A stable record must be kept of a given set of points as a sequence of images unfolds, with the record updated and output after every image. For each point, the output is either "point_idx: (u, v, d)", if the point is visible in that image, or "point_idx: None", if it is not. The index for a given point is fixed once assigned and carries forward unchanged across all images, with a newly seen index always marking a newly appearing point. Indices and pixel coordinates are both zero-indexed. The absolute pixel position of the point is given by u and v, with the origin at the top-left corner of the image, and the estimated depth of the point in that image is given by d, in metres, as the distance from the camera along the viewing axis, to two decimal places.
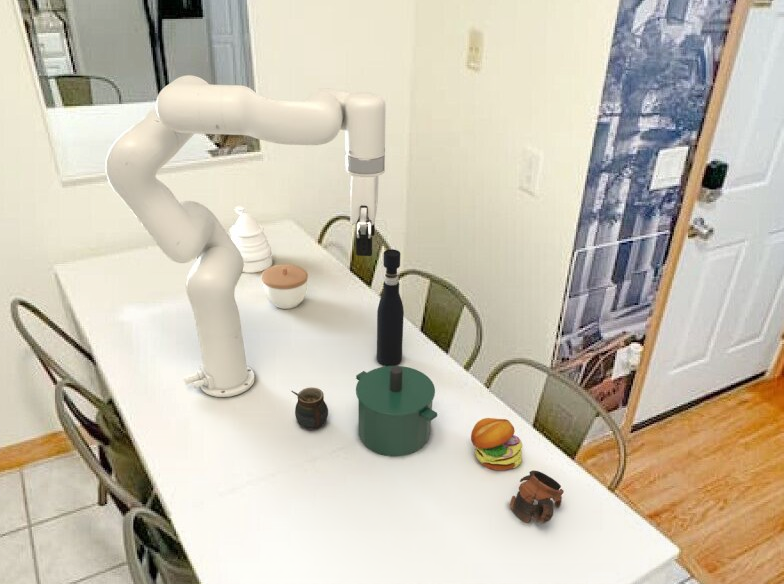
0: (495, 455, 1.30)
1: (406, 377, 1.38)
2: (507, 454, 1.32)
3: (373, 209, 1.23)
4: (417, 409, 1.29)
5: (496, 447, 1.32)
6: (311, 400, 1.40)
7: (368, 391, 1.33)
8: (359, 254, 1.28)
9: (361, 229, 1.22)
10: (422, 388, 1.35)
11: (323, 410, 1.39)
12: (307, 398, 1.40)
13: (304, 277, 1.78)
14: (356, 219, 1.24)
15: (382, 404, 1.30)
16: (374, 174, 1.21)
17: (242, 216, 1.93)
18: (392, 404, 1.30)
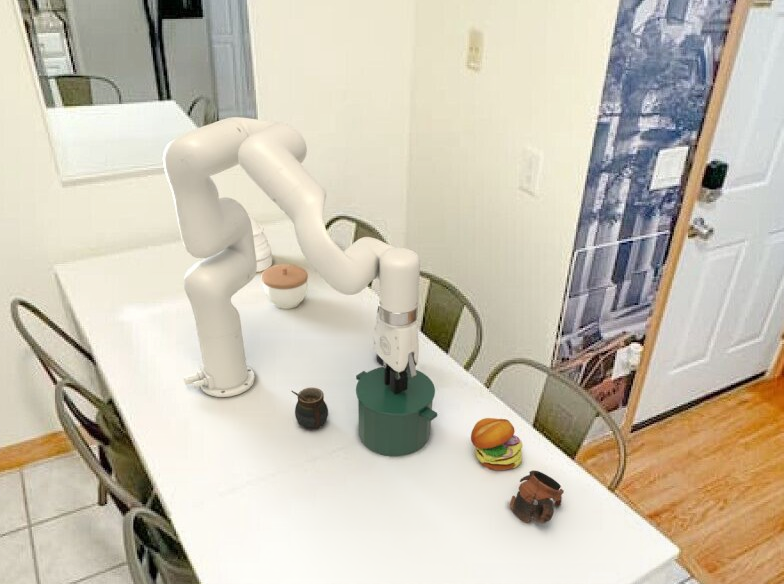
0: (495, 455, 1.30)
1: None
2: (507, 454, 1.32)
3: (418, 352, 1.26)
4: (417, 409, 1.29)
5: (496, 447, 1.32)
6: (311, 400, 1.40)
7: (368, 391, 1.33)
8: (397, 392, 1.32)
9: None
10: (422, 388, 1.35)
11: (323, 410, 1.39)
12: (307, 398, 1.40)
13: (304, 277, 1.78)
14: None
15: (382, 404, 1.30)
16: (415, 321, 1.23)
17: None
18: (392, 404, 1.30)
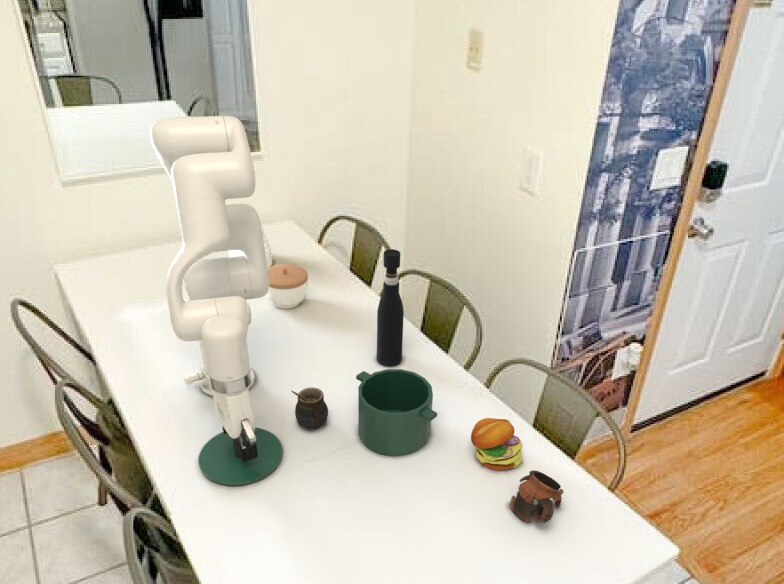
0: (495, 455, 1.30)
1: (256, 440, 1.35)
2: (507, 454, 1.32)
3: (253, 418, 1.23)
4: (257, 477, 1.26)
5: (496, 447, 1.32)
6: (311, 400, 1.40)
7: (211, 457, 1.30)
8: (245, 460, 1.27)
9: (251, 443, 1.21)
10: (269, 453, 1.32)
11: (323, 410, 1.39)
12: (307, 398, 1.40)
13: (304, 277, 1.78)
14: (238, 433, 1.22)
15: (221, 471, 1.27)
16: (247, 388, 1.20)
17: None
18: (232, 472, 1.27)
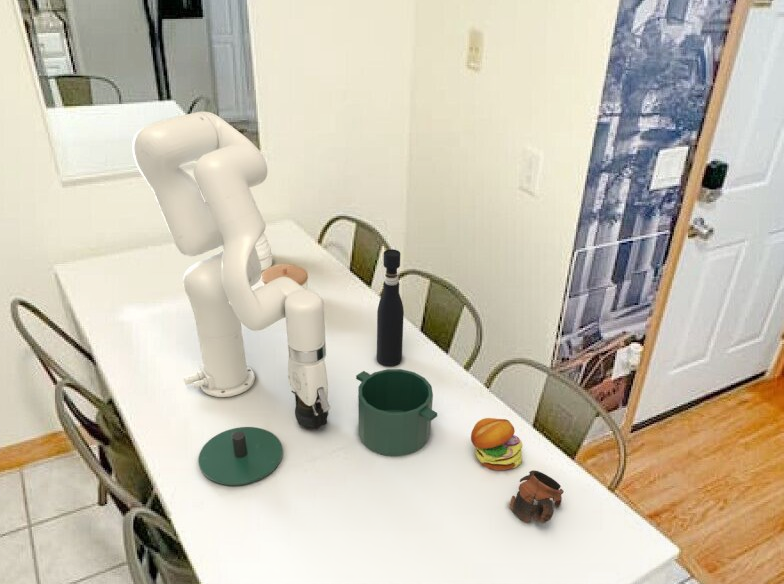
0: (495, 455, 1.30)
1: (256, 440, 1.35)
2: (507, 454, 1.32)
3: (327, 387, 1.33)
4: (257, 477, 1.26)
5: (496, 447, 1.32)
6: None
7: (211, 457, 1.30)
8: (316, 427, 1.37)
9: (325, 410, 1.32)
10: (269, 453, 1.32)
11: None
12: None
13: (304, 277, 1.78)
14: (313, 402, 1.33)
15: (221, 471, 1.27)
16: (323, 358, 1.30)
17: None
18: (232, 472, 1.27)
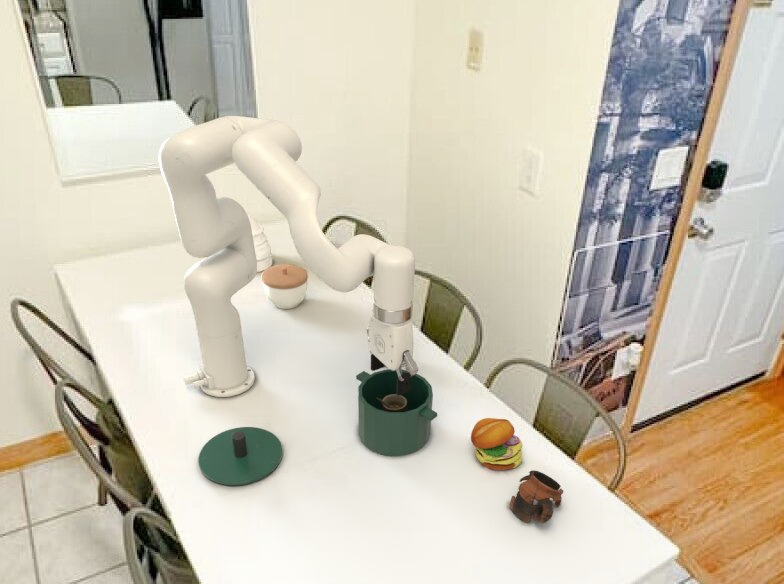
0: (495, 455, 1.30)
1: (256, 440, 1.35)
2: (507, 454, 1.32)
3: (412, 350, 1.25)
4: (257, 477, 1.26)
5: (496, 447, 1.32)
6: (394, 407, 1.39)
7: (211, 457, 1.30)
8: (400, 394, 1.29)
9: (413, 374, 1.24)
10: (269, 453, 1.32)
11: None
12: (390, 405, 1.39)
13: (304, 277, 1.78)
14: (399, 364, 1.25)
15: (221, 471, 1.27)
16: (410, 319, 1.23)
17: None
18: (232, 472, 1.27)
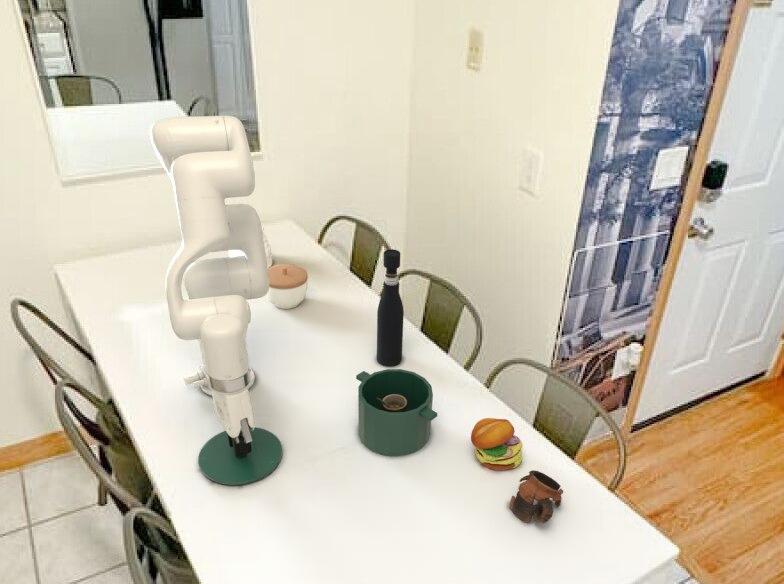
0: (495, 455, 1.30)
1: (255, 440, 1.35)
2: (507, 454, 1.32)
3: (252, 417, 1.22)
4: (256, 477, 1.26)
5: (496, 447, 1.32)
6: (394, 407, 1.39)
7: (211, 456, 1.30)
8: (239, 455, 1.29)
9: None
10: (268, 452, 1.32)
11: None
12: (390, 405, 1.39)
13: (304, 277, 1.78)
14: None
15: (221, 471, 1.27)
16: (246, 386, 1.20)
17: None
18: (232, 471, 1.27)
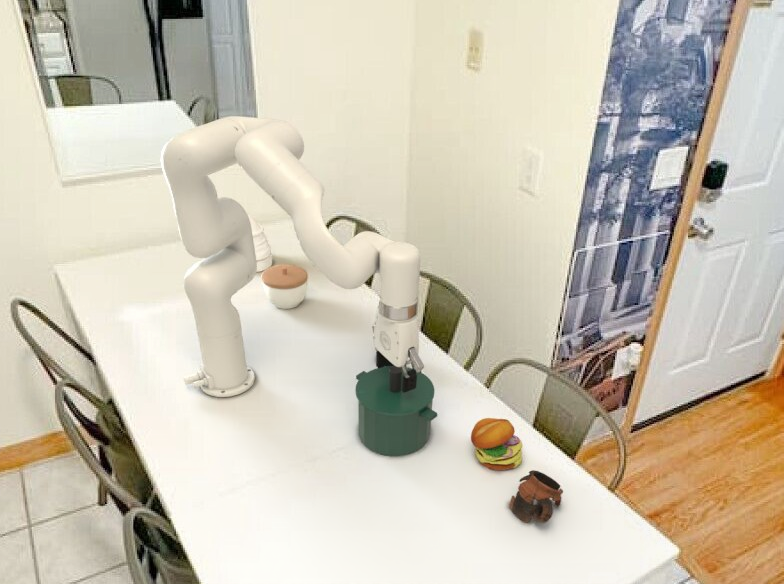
0: (495, 455, 1.30)
1: None
2: (507, 454, 1.32)
3: (418, 347, 1.25)
4: (416, 409, 1.29)
5: (496, 447, 1.32)
6: None
7: (367, 391, 1.33)
8: (405, 391, 1.29)
9: (418, 370, 1.23)
10: (422, 388, 1.35)
11: None
12: None
13: (304, 277, 1.78)
14: (404, 361, 1.24)
15: (381, 404, 1.30)
16: (415, 315, 1.23)
17: None
18: (391, 404, 1.30)
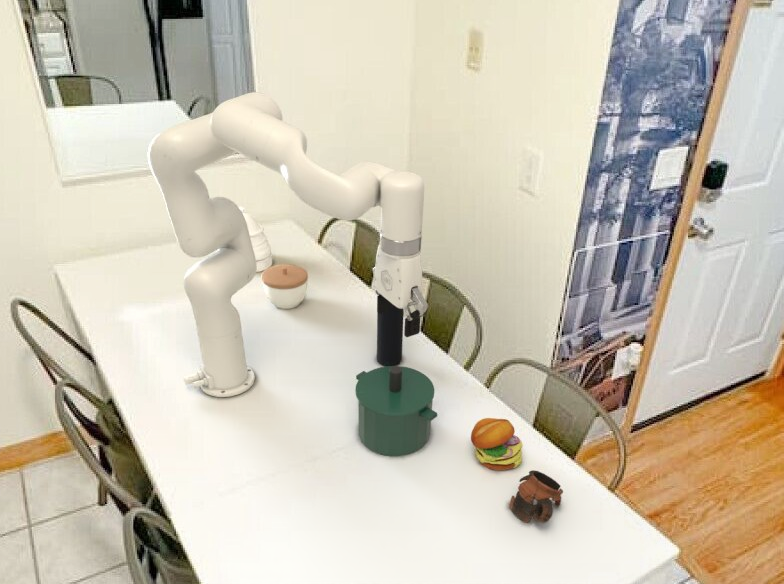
0: (495, 455, 1.30)
1: (406, 377, 1.38)
2: (507, 454, 1.32)
3: (421, 287, 1.17)
4: (416, 409, 1.29)
5: (496, 447, 1.32)
6: None
7: (367, 391, 1.33)
8: (408, 335, 1.21)
9: (422, 311, 1.16)
10: (422, 388, 1.35)
11: None
12: None
13: (304, 277, 1.78)
14: (407, 302, 1.17)
15: (381, 404, 1.30)
16: (419, 252, 1.15)
17: None
18: (391, 404, 1.30)
